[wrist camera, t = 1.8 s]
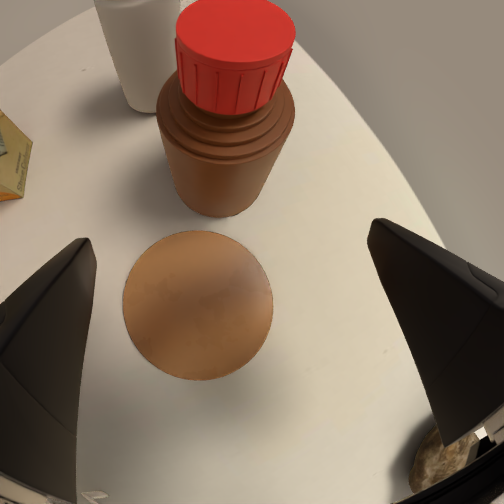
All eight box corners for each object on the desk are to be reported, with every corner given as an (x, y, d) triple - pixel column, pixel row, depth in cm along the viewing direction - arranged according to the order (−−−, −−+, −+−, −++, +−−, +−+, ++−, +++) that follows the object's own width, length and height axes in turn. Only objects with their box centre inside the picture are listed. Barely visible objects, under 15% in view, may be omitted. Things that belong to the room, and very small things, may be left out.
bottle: (281, 180, 22) (360, 55, 9) (213, 236, 21) (222, 141, 8) (223, 121, 23) (243, -26, 9) (156, 170, 21) (108, 33, 8)
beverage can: (197, 88, 23) (198, -33, 11) (155, 127, 22) (126, 7, 10) (156, 64, 23) (140, -48, 11) (115, 99, 22) (74, -11, 10)
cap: (297, 85, 12) (320, 35, 9) (223, 134, 11) (228, 82, 8) (234, 33, 12) (242, -17, 9) (160, 74, 11) (151, 20, 8)
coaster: (301, 310, 21) (303, 310, 21) (194, 406, 19) (194, 408, 19) (204, 202, 21) (204, 200, 21) (96, 297, 20) (94, 297, 19)
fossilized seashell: (438, 404, 19) (375, 496, 19) (502, 436, 14) (428, 532, 14) (456, 398, 24) (406, 476, 23) (506, 422, 18) (450, 503, 18)
